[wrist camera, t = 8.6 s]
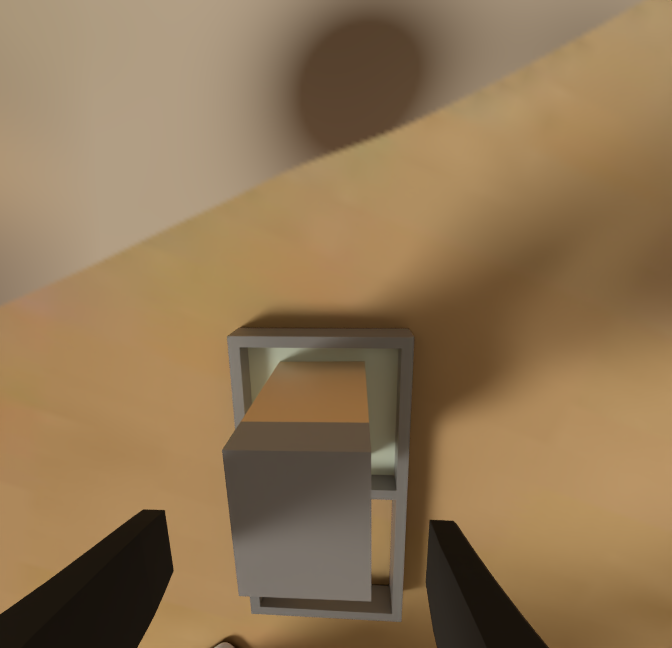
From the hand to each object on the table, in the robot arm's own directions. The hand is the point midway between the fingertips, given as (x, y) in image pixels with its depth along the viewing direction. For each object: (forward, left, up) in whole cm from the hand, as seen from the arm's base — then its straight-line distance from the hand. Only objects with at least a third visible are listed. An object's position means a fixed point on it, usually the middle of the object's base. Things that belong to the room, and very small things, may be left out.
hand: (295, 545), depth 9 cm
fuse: (0, 0, -8) cm, 8 cm away
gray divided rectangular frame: (-2, -3, -8) cm, 9 cm away
